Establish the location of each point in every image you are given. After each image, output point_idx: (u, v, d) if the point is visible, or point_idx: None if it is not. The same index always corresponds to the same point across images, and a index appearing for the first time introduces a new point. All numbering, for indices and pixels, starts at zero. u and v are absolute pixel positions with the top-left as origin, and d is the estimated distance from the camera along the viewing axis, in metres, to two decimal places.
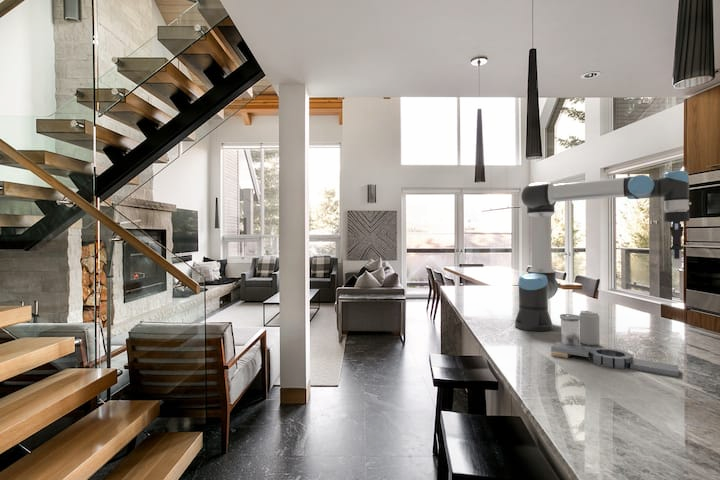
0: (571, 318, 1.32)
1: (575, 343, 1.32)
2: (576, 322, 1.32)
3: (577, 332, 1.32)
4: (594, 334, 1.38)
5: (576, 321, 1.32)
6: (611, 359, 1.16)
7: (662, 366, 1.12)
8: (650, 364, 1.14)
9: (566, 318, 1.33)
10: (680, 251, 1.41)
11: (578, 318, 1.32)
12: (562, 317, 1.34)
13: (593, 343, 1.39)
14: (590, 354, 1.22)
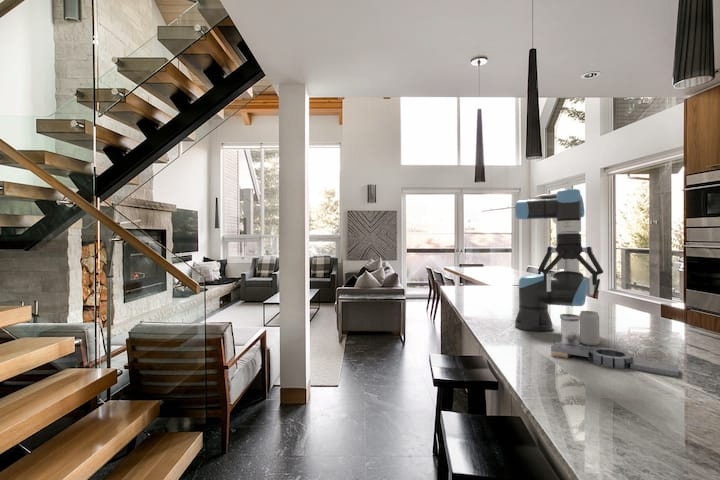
0: (571, 318, 1.32)
1: (575, 343, 1.32)
2: (576, 322, 1.32)
3: (577, 332, 1.32)
4: (594, 334, 1.38)
5: (576, 321, 1.32)
6: (611, 359, 1.16)
7: (662, 366, 1.12)
8: (650, 364, 1.14)
9: (566, 318, 1.33)
10: None
11: (578, 318, 1.32)
12: (562, 317, 1.34)
13: (593, 343, 1.39)
14: (590, 354, 1.22)
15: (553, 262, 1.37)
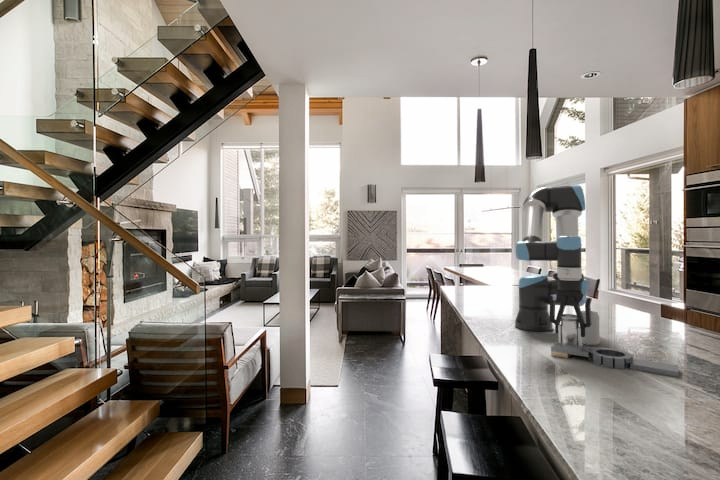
0: (571, 318, 1.32)
1: (575, 343, 1.32)
2: (576, 322, 1.32)
3: (577, 332, 1.32)
4: (594, 334, 1.38)
5: (576, 321, 1.32)
6: (611, 359, 1.16)
7: (662, 366, 1.12)
8: (650, 364, 1.14)
9: (566, 318, 1.33)
10: None
11: None
12: (562, 317, 1.34)
13: (593, 343, 1.39)
14: (590, 354, 1.22)
15: (560, 311, 1.36)
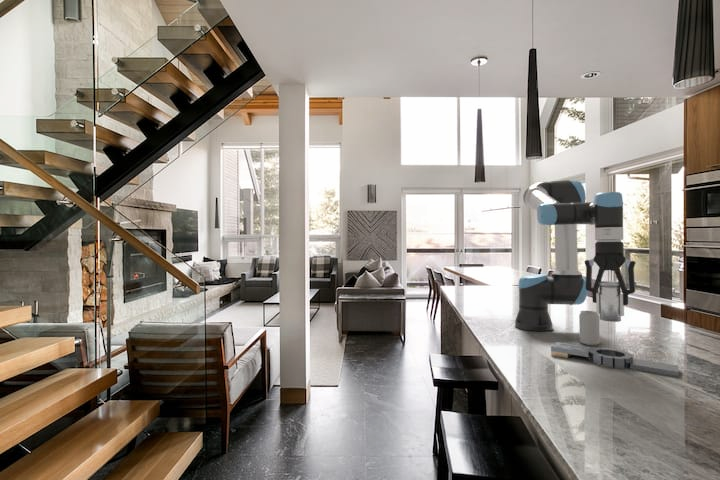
0: (612, 284, 1.17)
1: (617, 312, 1.17)
2: (618, 288, 1.18)
3: (618, 299, 1.18)
4: (594, 334, 1.38)
5: (618, 287, 1.18)
6: (611, 359, 1.16)
7: (662, 366, 1.12)
8: (650, 364, 1.14)
9: (606, 284, 1.18)
10: None
11: None
12: (601, 283, 1.20)
13: (593, 343, 1.39)
14: (590, 354, 1.22)
15: (598, 277, 1.21)
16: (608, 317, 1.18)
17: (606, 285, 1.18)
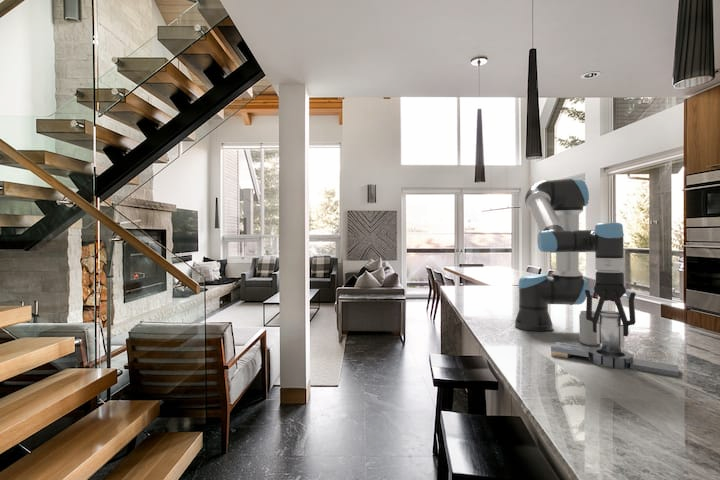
0: (612, 315, 1.17)
1: (617, 343, 1.18)
2: (618, 319, 1.18)
3: (619, 330, 1.18)
4: (594, 334, 1.38)
5: (618, 318, 1.18)
6: (611, 359, 1.16)
7: (662, 366, 1.12)
8: (650, 364, 1.14)
9: (606, 315, 1.18)
10: None
11: (620, 315, 1.18)
12: (601, 314, 1.20)
13: (593, 343, 1.38)
14: (590, 354, 1.22)
15: (598, 307, 1.21)
16: (608, 348, 1.18)
17: (606, 316, 1.18)
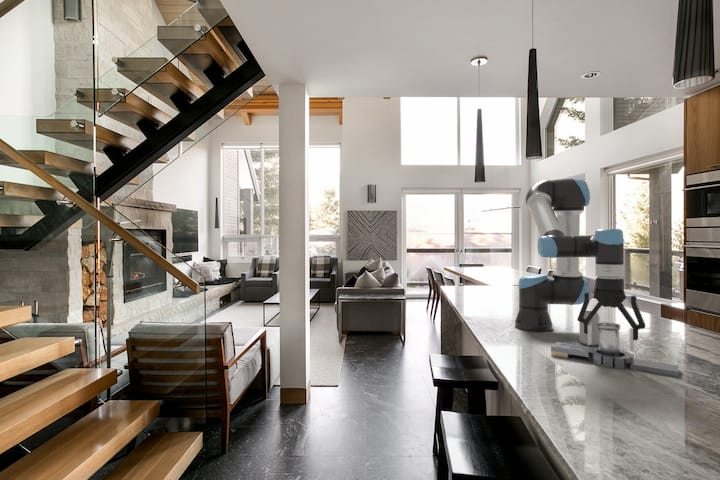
0: (611, 327, 1.18)
1: (616, 355, 1.18)
2: (616, 332, 1.18)
3: (617, 342, 1.18)
4: (594, 334, 1.38)
5: (616, 330, 1.18)
6: (611, 359, 1.16)
7: (662, 366, 1.12)
8: (650, 364, 1.14)
9: (605, 327, 1.19)
10: None
11: (618, 327, 1.18)
12: (600, 326, 1.20)
13: (593, 343, 1.39)
14: (590, 354, 1.22)
15: (593, 311, 1.22)
16: None
17: (605, 328, 1.19)
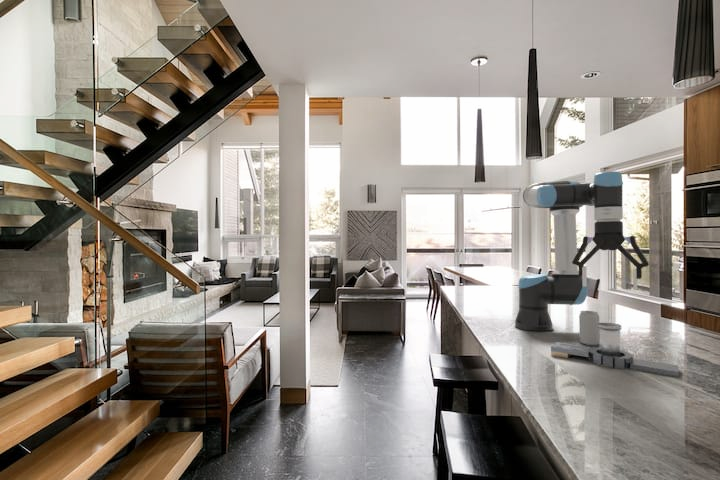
0: (612, 328, 1.18)
1: (616, 356, 1.18)
2: (617, 332, 1.18)
3: (618, 343, 1.18)
4: (594, 334, 1.38)
5: (617, 331, 1.18)
6: (611, 359, 1.16)
7: (662, 366, 1.12)
8: (650, 364, 1.14)
9: (606, 327, 1.19)
10: None
11: (619, 327, 1.18)
12: (601, 326, 1.20)
13: (593, 343, 1.38)
14: (590, 354, 1.22)
15: (590, 254, 1.23)
16: None
17: (606, 328, 1.19)
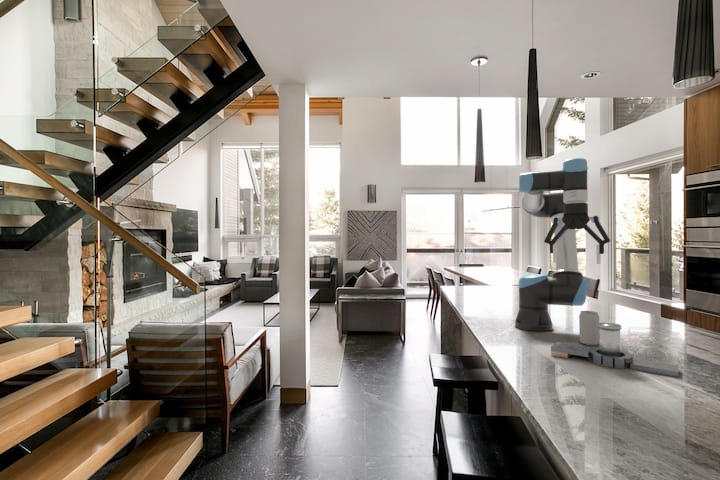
0: (612, 328, 1.18)
1: (616, 356, 1.18)
2: (617, 332, 1.18)
3: (618, 343, 1.18)
4: (594, 334, 1.38)
5: (617, 331, 1.18)
6: (611, 359, 1.16)
7: (662, 366, 1.12)
8: (650, 364, 1.14)
9: (606, 327, 1.19)
10: None
11: (619, 327, 1.18)
12: (601, 326, 1.20)
13: (593, 343, 1.38)
14: (590, 354, 1.22)
15: (559, 233, 1.37)
16: None
17: (606, 328, 1.19)
